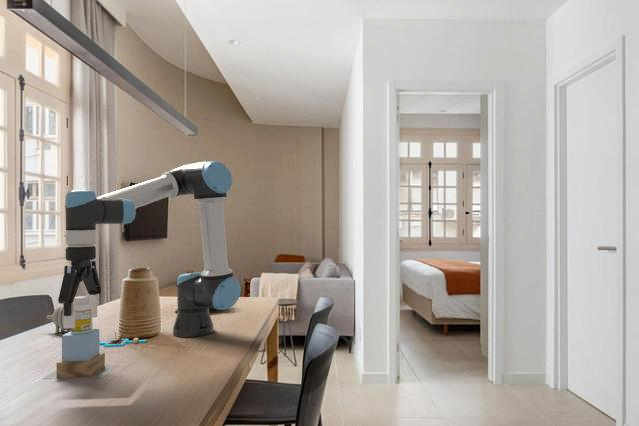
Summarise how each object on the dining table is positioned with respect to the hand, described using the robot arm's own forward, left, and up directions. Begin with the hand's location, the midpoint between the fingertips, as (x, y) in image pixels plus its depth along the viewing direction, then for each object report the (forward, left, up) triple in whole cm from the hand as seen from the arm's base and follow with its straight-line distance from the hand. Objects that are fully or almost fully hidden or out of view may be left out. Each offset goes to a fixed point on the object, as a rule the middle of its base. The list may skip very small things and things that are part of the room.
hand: (81, 322), depth 128 cm
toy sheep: (+30, -56, -15) cm, 65 cm away
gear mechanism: (+4, -36, -16) cm, 40 cm away
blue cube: (0, 0, -10) cm, 10 cm away
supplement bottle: (0, 0, -3) cm, 3 cm away
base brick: (0, 0, -14) cm, 14 cm away
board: (0, 0, -15) cm, 15 cm away
